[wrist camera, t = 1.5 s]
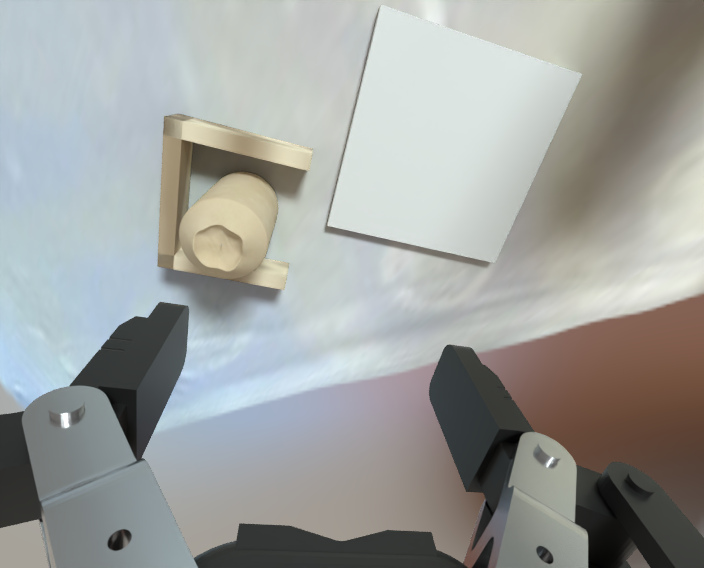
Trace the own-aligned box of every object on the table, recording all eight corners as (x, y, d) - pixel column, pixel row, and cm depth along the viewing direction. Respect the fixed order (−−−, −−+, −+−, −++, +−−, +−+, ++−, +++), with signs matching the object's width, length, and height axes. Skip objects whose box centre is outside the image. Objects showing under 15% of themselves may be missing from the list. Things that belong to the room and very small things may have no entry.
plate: (379, 6, 27) (381, 4, 26) (576, 74, 30) (582, 74, 29) (327, 222, 33) (327, 225, 33) (491, 259, 36) (494, 263, 36)
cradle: (170, 252, 33) (157, 266, 31) (178, 113, 29) (164, 116, 26) (286, 274, 35) (284, 290, 33) (312, 148, 30) (312, 154, 28)
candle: (263, 161, 31) (243, 192, 22) (288, 224, 33) (278, 274, 24) (199, 182, 31) (153, 220, 22) (228, 243, 33) (197, 299, 25)
